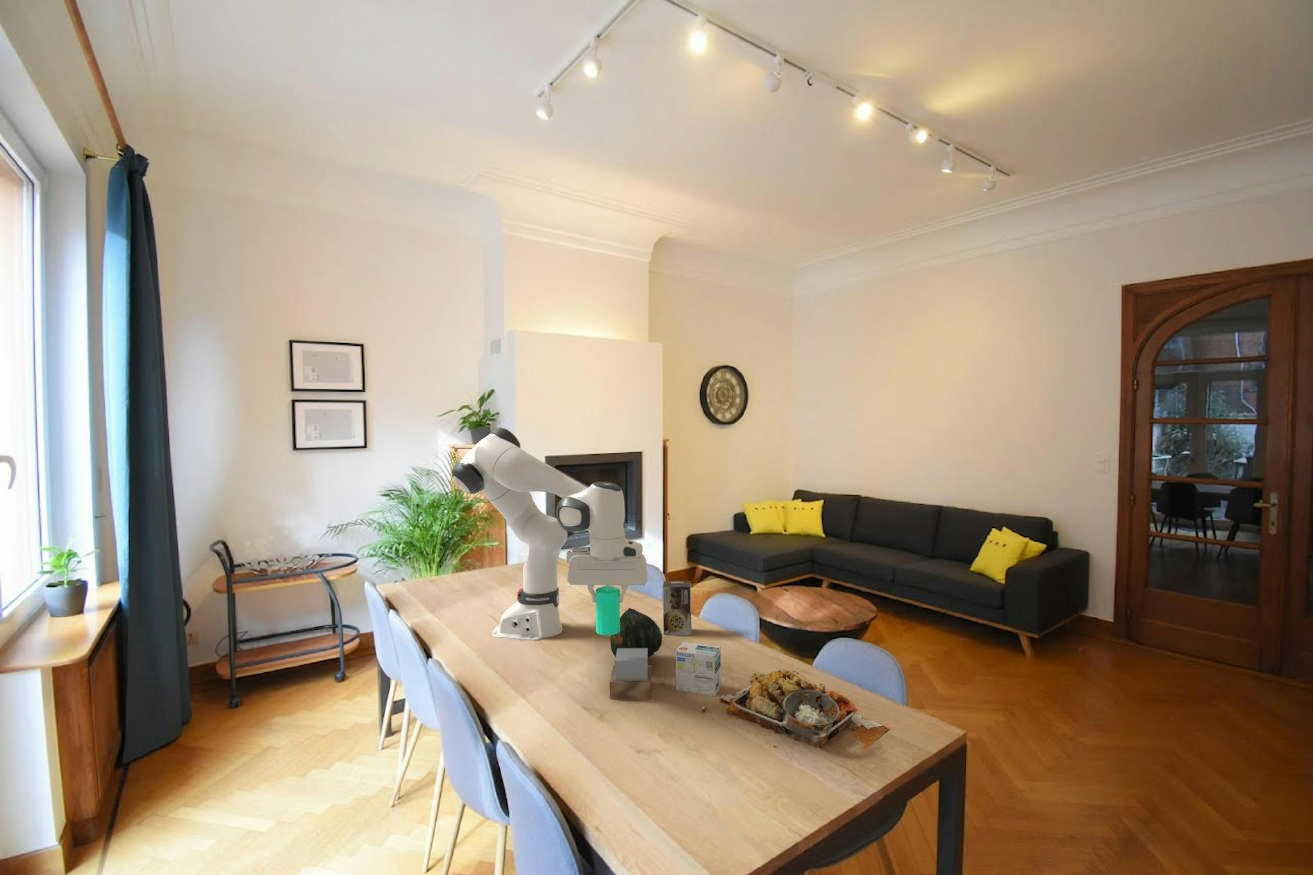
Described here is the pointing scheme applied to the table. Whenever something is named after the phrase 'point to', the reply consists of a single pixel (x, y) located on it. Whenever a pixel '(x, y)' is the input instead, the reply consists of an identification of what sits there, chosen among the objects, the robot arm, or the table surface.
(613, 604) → the candle
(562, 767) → the table surface
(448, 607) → the table surface
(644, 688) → the tower base block
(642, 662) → the tower top block
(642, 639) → the squash
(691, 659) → the light bulb box
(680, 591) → the coffee box
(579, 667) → the table surface
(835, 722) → the food tray
